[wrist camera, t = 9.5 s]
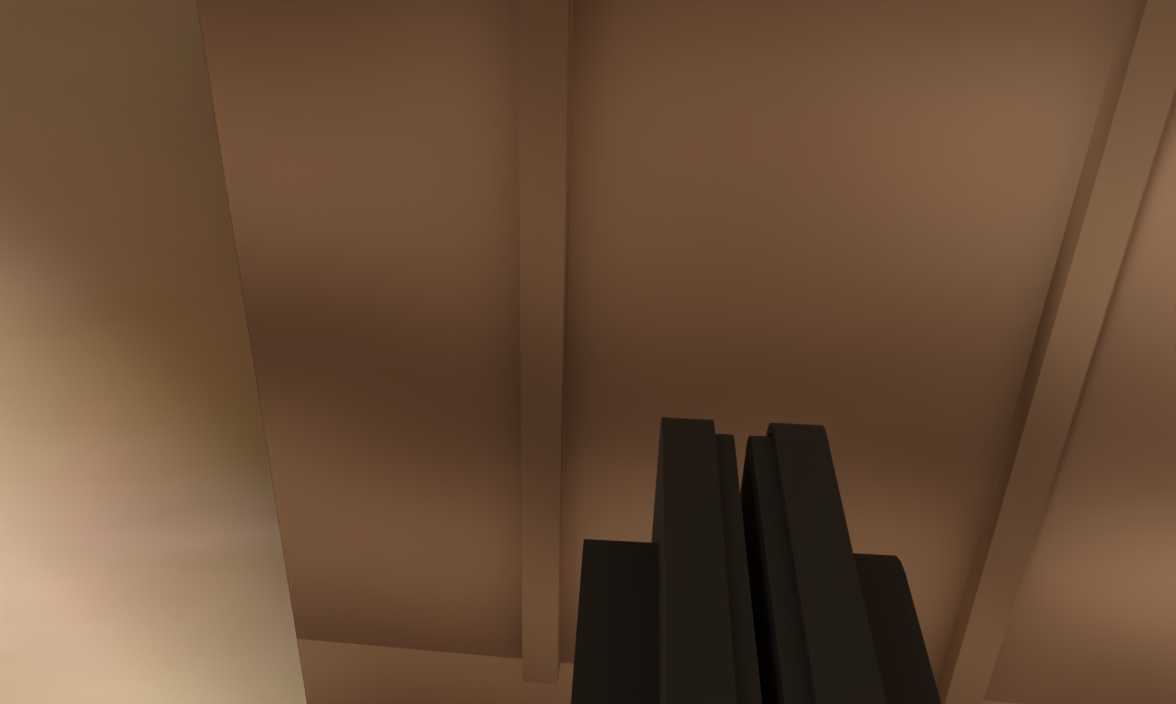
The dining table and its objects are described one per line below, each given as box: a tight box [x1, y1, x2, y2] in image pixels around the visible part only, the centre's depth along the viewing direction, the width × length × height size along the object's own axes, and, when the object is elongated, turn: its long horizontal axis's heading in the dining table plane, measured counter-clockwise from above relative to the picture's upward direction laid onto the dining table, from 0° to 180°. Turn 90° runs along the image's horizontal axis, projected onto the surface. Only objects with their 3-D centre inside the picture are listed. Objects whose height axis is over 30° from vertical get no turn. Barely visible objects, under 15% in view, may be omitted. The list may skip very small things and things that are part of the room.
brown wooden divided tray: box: [197, 0, 1176, 704], centre depth 18 cm, size 20×16×4 cm
